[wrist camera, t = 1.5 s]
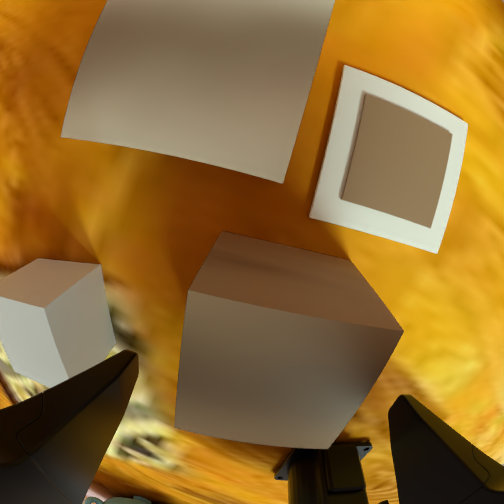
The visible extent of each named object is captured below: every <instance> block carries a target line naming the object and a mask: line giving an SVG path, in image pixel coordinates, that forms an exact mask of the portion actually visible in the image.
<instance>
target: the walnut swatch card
mask: <svg viewBox="0 0 504 504" xmlns="http://www.w3.org/2000/svg"><path fill="white" fill-rule="evenodd" d="M467 128H468V124H467V123H466V122H464V121H463V120H461V119H459V118H458V117H456V116H454V115H453V114H451V113H449V112H448V111H446V110H444V109H443V108H441V107H439V106H437V105H435V104H434V103H432V102H430V101H428V100H426V99H424V98H422V97H420V96H418V95H416V94H414V93H412V92H410V91H408V90H406V89H404V88H402V87H400V86H397V85H395V84H393V83H391V82H388V81H386V80H384V79H381V78H379V77H376V76H374V75H371V74H369V73H366V72H363V71H361V70H358V69H355V68H352V67H350V66H347V65H345V66H344V67H343V71H342V76H341V81H340V86H339V91H338V96H337V101H336V105H335V110H334V114H333V119H332V124H331V128H330V132H329V137H328V141H327V145H326V150H325V154H324V158H323V162H322V166H321V170H320V174H319V178H318V182H317V186H316V190H315V194H314V198H313V202H312V206H311V209H310V213H309V217H310V218H313V219H317V220H321V221H325V222H329V223H332V224H336V225H340V226H344V227H347V228H351V229H355V230H358V231H362V232H366V233H369V234H373V235H376V236H380V237H383V238H387V239H390V240H394V241H397V242H400V243H404V244H407V245H410V246H413V247H417V248H420V249H423V250H426V251H430V252H433V253H436V254H437V253H438V250H439V247H440V244H441V241H442V238H443V235H444V232H445V229H446V225H447V222H448V219H449V215H450V212H451V208H452V204H453V200H454V197H455V192H456V188H457V184H458V180H459V175H460V170H461V165H462V160H463V154H464V149H465V142H466V136H467Z"/></svg>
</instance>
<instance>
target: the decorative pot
mask: <svg viewBox="0 0 504 504" xmlns="http://www.w3.org/2000/svg"><path fill="white" fill-rule="evenodd" d="M133 497H134V499H130V498H123V497H113V498H110V499H108V500H106V501H104V502H103V501H102V500H100V499H98V498H96V497H88V498H87V499H86V501H85V504H91V503H92V502H95V503H96V504H151V503H152V502H151V501H150V500H148V499H146V498H143V497H140V496H133Z"/></svg>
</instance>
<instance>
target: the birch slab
mask: <svg viewBox="0 0 504 504" xmlns="http://www.w3.org/2000/svg"><path fill="white" fill-rule="evenodd" d="M334 2H335V0H108V1H107V3H106V5H105V7H104V9H103V11H102V13H101V15H100V17H99V19H98V21H97V23H96V26H95V28H94V30H93V33H92V35H91V37H90V40H89V42H88V45H87V47H86V50H85V52H84V55H83V58H82V61H81V63H80V66H79V69H78V72H77V75H76V79H75V82H74V85H73V88H72V92H71V95H70V99H69V103H68V107H67V111H66V115H65V119H64V123H63V128H62V133H61V137H63V138H71V139H78V140H86V141H93V142H99V143H106V144H112V145H118V146H124V147H130V148H135V149H141V150H146V151H151V152H156V153H161V154H166V155H171V156H176V157H180V158H185V159H189V160H194V161H198V162H202V163H206V164H211V165H215V166H219V167H223V168H227V169H231V170H235V171H238V172H242V173H246V174H250V175H253V176H257V177H261V178H264V179H268V180H271V181H275V182H278V183H282V184H283V181H284V178H285V175H286V171H287V168H288V164H289V161H290V158H291V154H292V151H293V147H294V144H295V141H296V137H297V134H298V130H299V127H300V123H301V120H302V116H303V113H304V109H305V106H306V102H307V99H308V95H309V92H310V88H311V85H312V81H313V78H314V74H315V71H316V67H317V64H318V60H319V56H320V53H321V49H322V46H323V42H324V39H325V35H326V31H327V28H328V24H329V20H330V17H331V13H332V9H333V6H334Z"/></svg>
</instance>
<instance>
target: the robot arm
mask: <svg viewBox="0 0 504 504" xmlns="http://www.w3.org/2000/svg"><path fill="white" fill-rule="evenodd" d="M138 374H139V361H138V354H137V353H136V352H133V351H130V350H123V351H121V352H119V353H117V354H116V355H114V356H112V357H110V358H108V359H106V360H104V361H102V362H100V363H98V364H97V365H95V366H93V367H91V368H89V369H87V370H85V371H83V372H81V373H79V374H77V375H75V376H73V377H71V378H69V379H67V380H65V381H63V382H61V383H59V384H57V385H55V386H53V387H51V388H49V389H47V390H45V391H44V392H43V393H42V392H41V393H39V394H37V395H35V396H33V397H31V398H29V399H26V400H24V401H22V402H20V403H17V404H14V405H12V406H9V407H6V408H3V409H0V504H82V502H83V500H84V498H85V496H86V493H87V491H88V489H89V487H90V485H91V483H92V480H93V478H94V476H95V474H96V472H97V470H98V468H99V465H100V463H101V461H102V459H103V457H104V455H105V453H106V451H107V449H108V447H109V445H110V443H111V441H112V439H113V437H114V434H115V432H116V430H117V428H118V426H119V424H120V422H121V420H122V418H123V416H124V414H125V411H126V408H127V406H128V403H129V400H130V397H131V394H132V392H133V389H134V386H135V383H136V381H137V378H138ZM388 420H389V430H390V442H391V451H392V457H393V463H394V469H395V475H396V482H397V489H398V497H399V504H504V466H503V465H501V464H499V463H498V462H496V461H495V460H493V459H492V458H490V457H489V456H487V455H486V454H484V453H483V452H482V451H480V450H479V449H478V448H477V447H475V446H474V445H473V444H471V443H470V442H469V441H468V440H466V439H465V438H464V437H463V436H461V435H460V434H459V433H458V432H456V431H455V430H454V429H452V428H451V427H450V426H449V425H447V424H446V423H445V422H444V421H442V420H441V419H440V418H439V417H437V416H436V415H435V414H434V413H432V412H431V411H430V410H429V409H427V408H426V407H425V406H424V405H422V404H421V403H420V402H419V401H418V400H416V399H415V398H414V397H413V396H411V395H408V394H407V395H400V396H399V397H398V398H397V399H396V401H395V402H394V404H393V405H392V406H391V408H390V409H389V412H388ZM371 449H372V444H371V443H370V442H362V443H332V444H331V446H330V447H329V448H328V449H308V448H293V449H292V450H291V452H290V453H289V455H288V456H287V458H286V459H285V460H284V462H283V463H282V465H281V466H280V467H279V469H278V470H277V471H276V473H275V475H274V478H275V479H276V480H288V499H289V504H369V502H368V497H367V493H366V482H365V478H364V474H363V470H362V465H361V459H362V458H363V457H364V456H365V455H366V454H367V453H368V452H369V451H370V450H371ZM379 504H389V503H388V500H385V501H382V502H380V503H379Z"/></svg>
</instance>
